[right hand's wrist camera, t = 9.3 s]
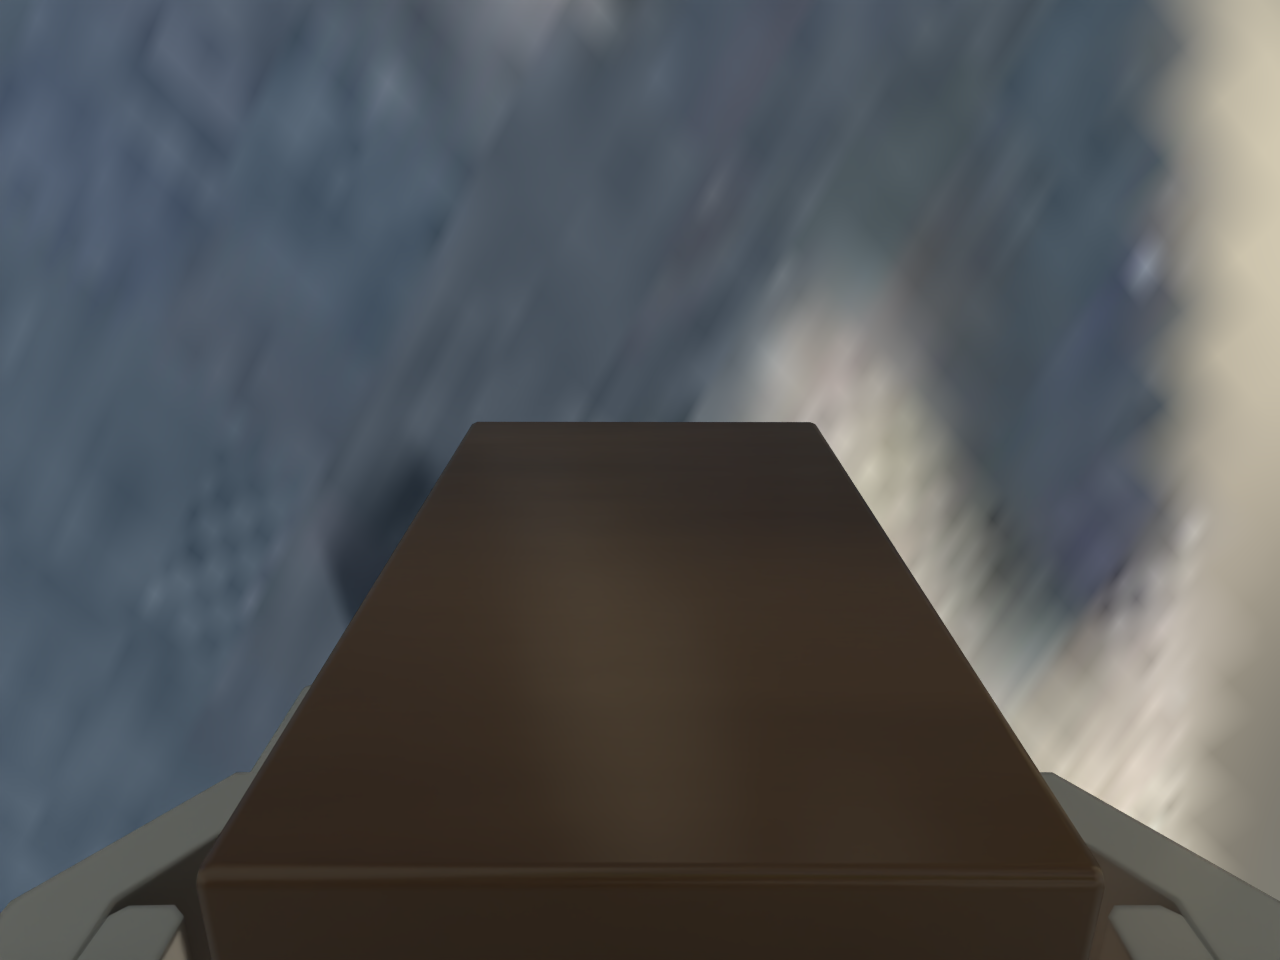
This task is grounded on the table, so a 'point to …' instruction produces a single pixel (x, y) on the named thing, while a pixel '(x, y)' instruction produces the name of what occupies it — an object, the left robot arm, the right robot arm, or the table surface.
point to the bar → (648, 732)
